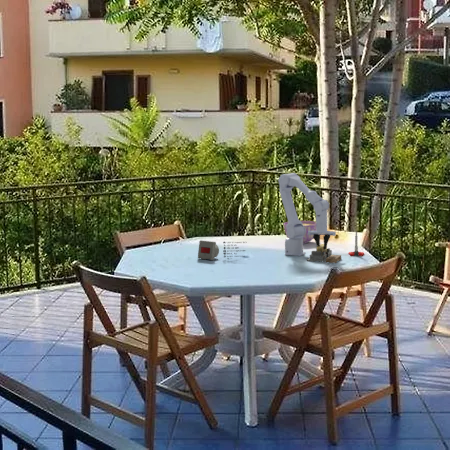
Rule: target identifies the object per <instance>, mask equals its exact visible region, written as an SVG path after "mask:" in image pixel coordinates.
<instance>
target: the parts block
mask: <svg viewBox="0 0 450 450" xmlns="http://www.w3.org/2000/svg"><path fill="white" fill-rule="evenodd" d="M340 260H342V254H333V255H331V256H329V257H328V258H326V262H325V263H327V262H329V264H331V263H332V264H337V263H338V262H339V261H340ZM337 261H338V262H337Z"/></svg>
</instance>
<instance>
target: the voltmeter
mask: <svg viewBox="0 0 450 450" xmlns="http://www.w3.org/2000/svg"><path fill="white" fill-rule="evenodd" d="M226 243H227V247H226V245H225V244H226ZM231 243H232V244H231ZM242 243H243V244H246V241H239V242H238V241H237V242H236V244H234V241H232V242H231V241H228V242H226V241H223V246H224V247H223V249H224V250H223V258H226V257H227V260H230V258H232V255H231V253H230V252H233V249H234V252H246V251H247V250H244V249H243V250H241V249H240V248H239V246H238V247H237V244H242ZM230 246H231V247H230ZM234 246H236V247H234ZM226 249H228V250H226ZM236 249H239V250H236ZM229 250H230V252H229ZM197 251H198V253H197V259H199V258H201V259H200V260H206V259H210V260H209V261H214V260H215V258H214V257H216V258H218V256H219V254H220V253H219V252H220V248H219V246H218V245H217V242H216V241H211V240H202V239H200V240H199V243H198V250H197ZM228 252H229V253H228ZM228 255H229V256H228ZM229 257H230V258H229ZM235 257H245V255H235ZM213 259H214V260H213Z"/></svg>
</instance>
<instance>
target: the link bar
mask: <svg viewBox="0 0 450 450" xmlns="http://www.w3.org/2000/svg"><path fill="white" fill-rule="evenodd" d="M316 248H317V251H321V253H322V252H323V251H327V249H328V246H327V247H326V249H324V243H320V245H319V246H317V245H316Z"/></svg>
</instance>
